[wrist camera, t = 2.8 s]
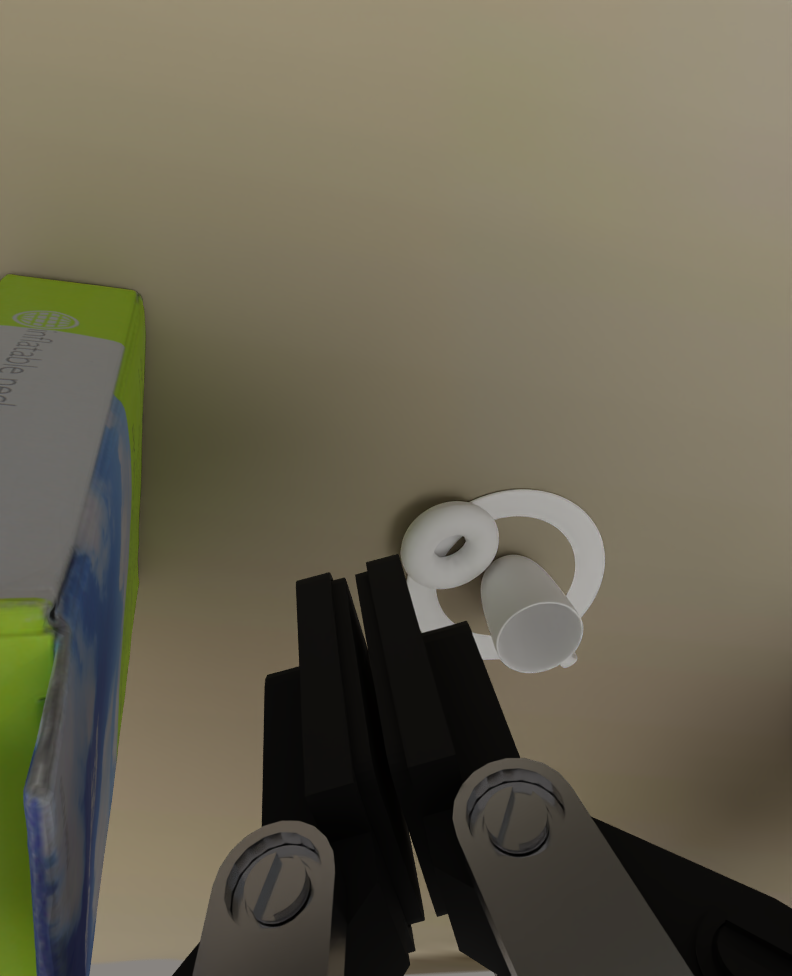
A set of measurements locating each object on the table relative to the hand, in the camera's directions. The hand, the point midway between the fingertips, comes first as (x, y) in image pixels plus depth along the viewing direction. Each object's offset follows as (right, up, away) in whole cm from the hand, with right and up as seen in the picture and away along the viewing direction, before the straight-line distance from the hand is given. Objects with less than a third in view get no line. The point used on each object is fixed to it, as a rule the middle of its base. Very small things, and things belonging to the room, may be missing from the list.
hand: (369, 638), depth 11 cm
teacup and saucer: (+5, +2, +15) cm, 16 cm away
